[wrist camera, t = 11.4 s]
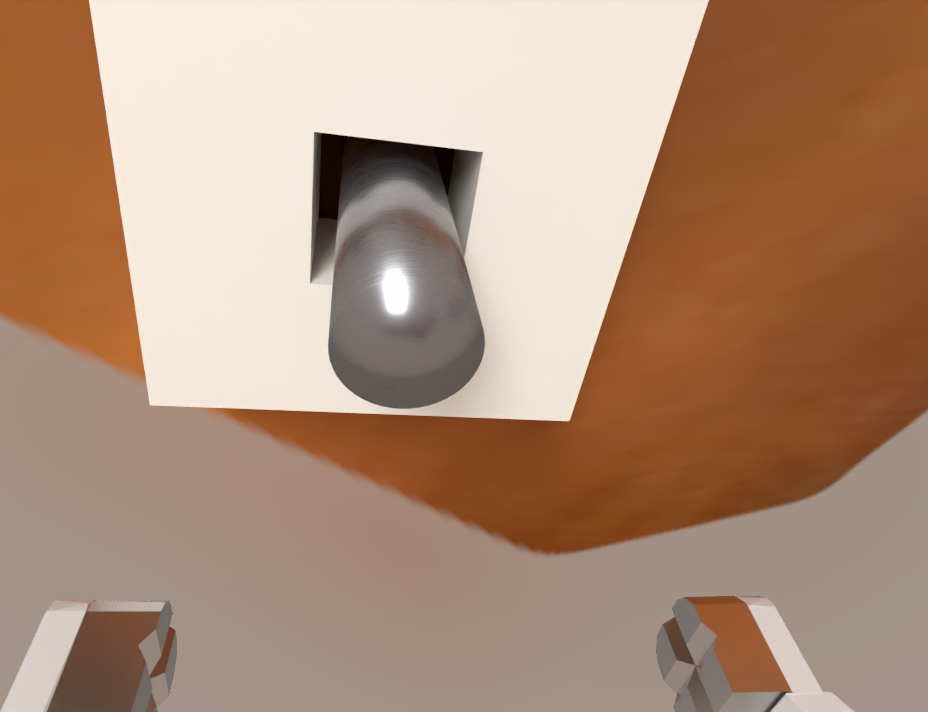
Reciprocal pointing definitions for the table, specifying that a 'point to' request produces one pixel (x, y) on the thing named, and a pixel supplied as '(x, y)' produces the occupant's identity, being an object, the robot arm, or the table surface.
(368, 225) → the long pin
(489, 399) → the hole block
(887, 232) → the table surface
